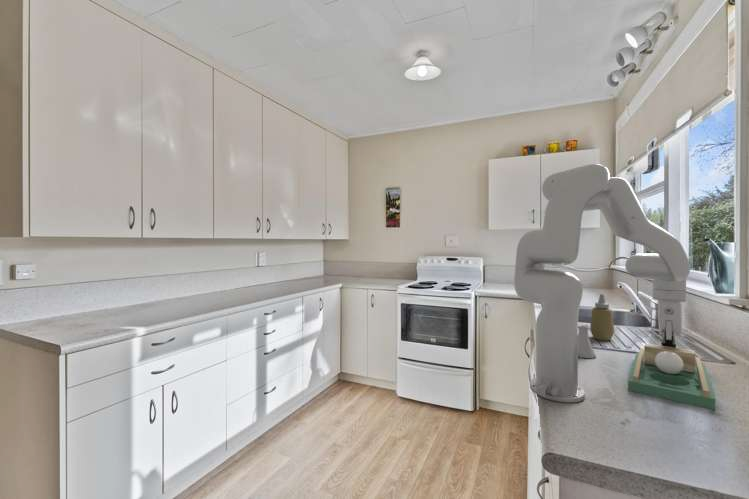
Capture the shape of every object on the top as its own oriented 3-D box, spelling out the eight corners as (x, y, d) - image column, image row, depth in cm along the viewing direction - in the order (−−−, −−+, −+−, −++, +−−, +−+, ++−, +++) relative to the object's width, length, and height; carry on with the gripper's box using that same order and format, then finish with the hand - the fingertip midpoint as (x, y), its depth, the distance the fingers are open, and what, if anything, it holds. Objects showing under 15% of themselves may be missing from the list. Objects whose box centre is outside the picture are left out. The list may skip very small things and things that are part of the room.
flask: (600, 359, 111) (600, 329, 111) (579, 359, 111) (578, 329, 111) (587, 352, 118) (587, 323, 118) (566, 352, 118) (566, 324, 118)
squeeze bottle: (591, 335, 139) (591, 292, 139) (615, 338, 134) (615, 293, 134) (588, 339, 133) (588, 294, 133) (613, 343, 128) (613, 296, 128)
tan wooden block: (645, 360, 101) (645, 343, 101) (694, 368, 94) (694, 350, 94) (644, 363, 98) (644, 346, 98) (695, 372, 91) (695, 354, 91)
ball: (683, 353, 92) (683, 375, 92) (655, 348, 96) (654, 370, 96) (684, 354, 88) (684, 377, 87) (654, 349, 92) (654, 372, 91)
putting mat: (636, 359, 110) (636, 347, 110) (704, 371, 99) (704, 358, 99) (628, 390, 87) (628, 375, 87) (715, 409, 77) (715, 392, 77)
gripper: (687, 300, 91) (687, 366, 91) (684, 293, 102) (684, 352, 103) (651, 297, 96) (651, 360, 96) (653, 291, 107) (652, 348, 108)
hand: (668, 356), depth 100 cm, fingers closed
